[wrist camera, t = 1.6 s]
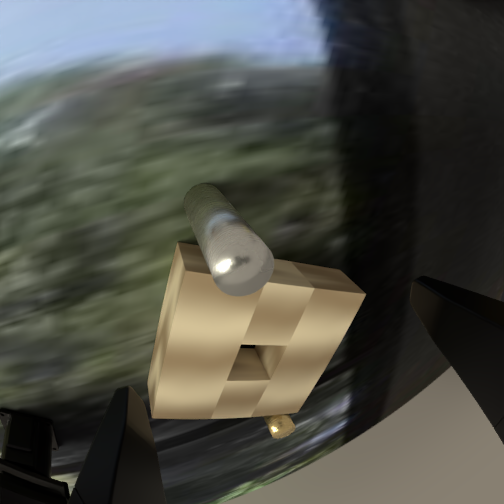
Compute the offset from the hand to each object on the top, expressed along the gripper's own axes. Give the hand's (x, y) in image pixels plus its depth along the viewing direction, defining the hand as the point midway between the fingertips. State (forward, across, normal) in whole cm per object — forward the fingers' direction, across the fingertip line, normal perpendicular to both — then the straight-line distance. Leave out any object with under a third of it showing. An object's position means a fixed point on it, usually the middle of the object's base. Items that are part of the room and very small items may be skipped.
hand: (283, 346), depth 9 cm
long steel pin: (+14, 0, +1) cm, 14 cm away
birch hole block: (+14, 0, +12) cm, 18 cm away
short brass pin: (+13, 0, +25) cm, 28 cm away
